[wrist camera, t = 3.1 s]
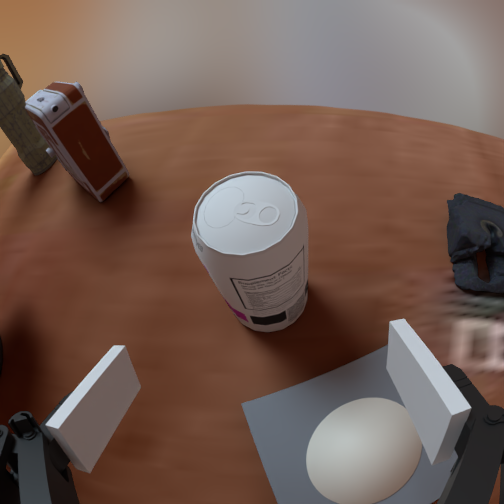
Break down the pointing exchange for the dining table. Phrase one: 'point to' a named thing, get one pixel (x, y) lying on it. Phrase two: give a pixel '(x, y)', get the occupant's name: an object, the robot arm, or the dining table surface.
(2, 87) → the thermos
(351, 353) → the dining table surface
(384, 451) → the board
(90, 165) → the cine camera
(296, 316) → the supplement can
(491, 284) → the crumpled black cloth
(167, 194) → the dining table surface
